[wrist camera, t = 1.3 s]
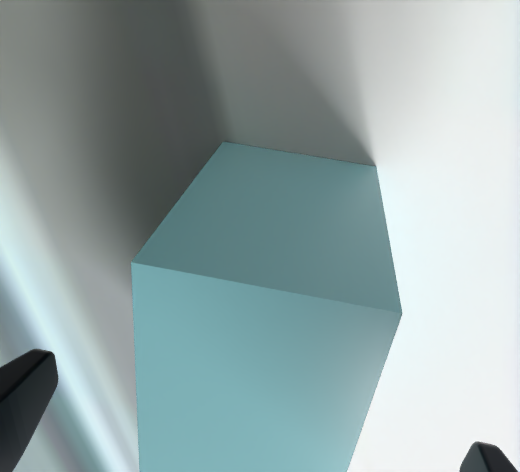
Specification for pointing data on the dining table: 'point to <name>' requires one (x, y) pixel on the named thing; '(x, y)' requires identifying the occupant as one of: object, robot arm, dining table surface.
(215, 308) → the teal rectangular block
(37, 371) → the robot arm
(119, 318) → the dining table surface
